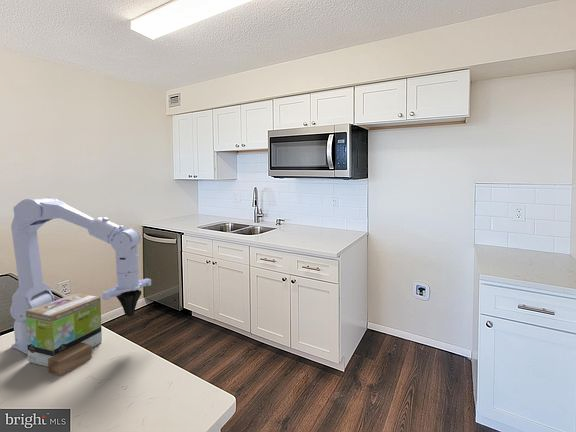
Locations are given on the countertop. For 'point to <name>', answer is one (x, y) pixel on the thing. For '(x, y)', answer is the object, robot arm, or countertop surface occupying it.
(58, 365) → the walnut bar
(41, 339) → the tea box
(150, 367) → the countertop surface
